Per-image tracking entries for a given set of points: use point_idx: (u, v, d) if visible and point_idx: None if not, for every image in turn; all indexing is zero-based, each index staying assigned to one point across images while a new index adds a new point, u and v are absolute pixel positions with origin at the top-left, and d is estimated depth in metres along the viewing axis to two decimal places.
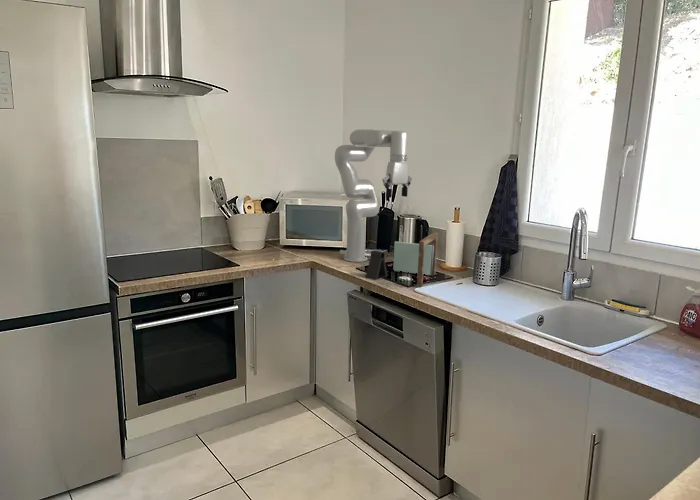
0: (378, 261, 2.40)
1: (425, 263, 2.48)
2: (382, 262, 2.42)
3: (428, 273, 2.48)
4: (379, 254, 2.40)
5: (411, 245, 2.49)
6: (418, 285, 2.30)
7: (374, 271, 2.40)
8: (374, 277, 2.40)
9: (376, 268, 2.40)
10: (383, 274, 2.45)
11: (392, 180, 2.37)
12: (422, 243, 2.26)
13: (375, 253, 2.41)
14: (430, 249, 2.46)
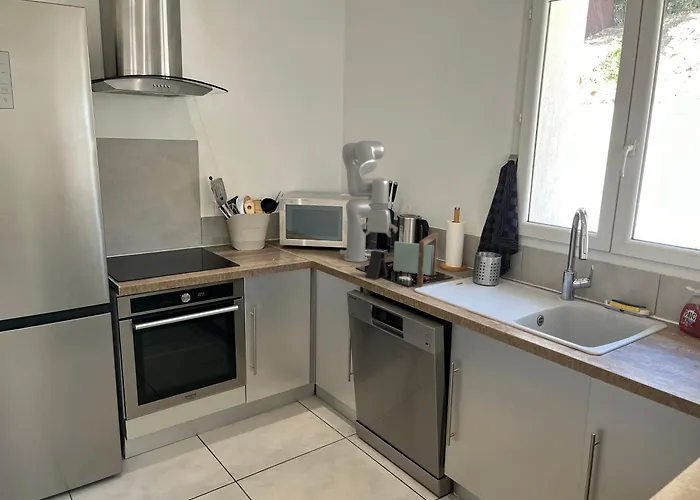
0: (378, 261, 2.40)
1: (425, 263, 2.48)
2: (382, 262, 2.42)
3: (428, 273, 2.48)
4: (379, 254, 2.40)
5: (411, 245, 2.49)
6: (418, 285, 2.30)
7: (374, 271, 2.40)
8: (374, 277, 2.40)
9: (376, 268, 2.40)
10: (383, 274, 2.45)
11: None
12: (422, 243, 2.26)
13: (375, 253, 2.41)
14: (430, 249, 2.46)
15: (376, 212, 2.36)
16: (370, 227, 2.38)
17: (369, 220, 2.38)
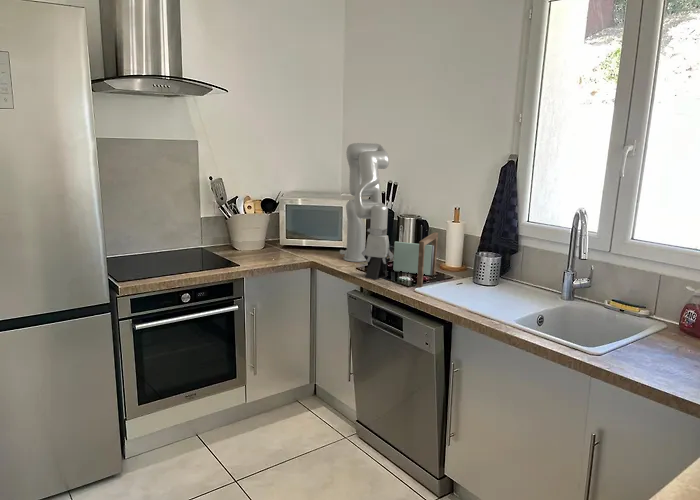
0: (378, 261, 2.40)
1: (425, 263, 2.48)
2: (382, 262, 2.42)
3: (428, 273, 2.48)
4: None
5: (411, 245, 2.49)
6: (418, 285, 2.30)
7: (374, 271, 2.40)
8: (374, 277, 2.40)
9: (376, 268, 2.40)
10: (383, 274, 2.45)
11: None
12: (422, 243, 2.26)
13: None
14: (430, 249, 2.46)
15: (375, 238, 2.38)
16: (369, 252, 2.41)
17: (368, 245, 2.40)
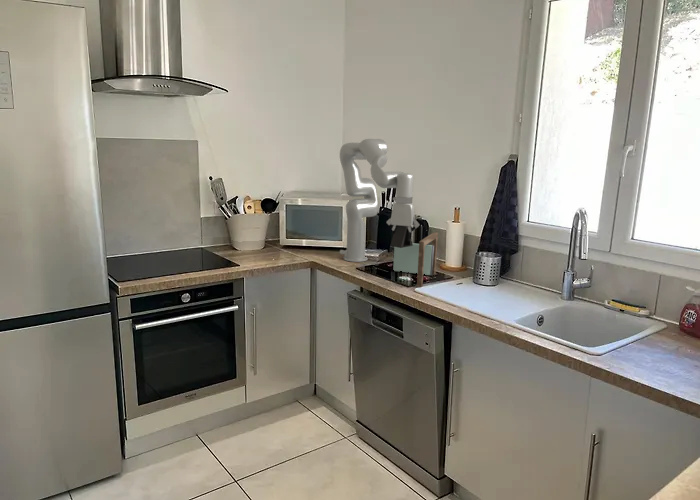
0: (403, 229, 2.41)
1: (425, 263, 2.48)
2: (407, 231, 2.43)
3: (428, 273, 2.48)
4: None
5: None
6: (418, 285, 2.30)
7: (399, 239, 2.41)
8: (399, 245, 2.40)
9: (401, 236, 2.41)
10: (408, 243, 2.45)
11: None
12: (422, 243, 2.26)
13: None
14: (430, 249, 2.46)
15: (400, 206, 2.39)
16: (394, 220, 2.41)
17: (393, 214, 2.41)
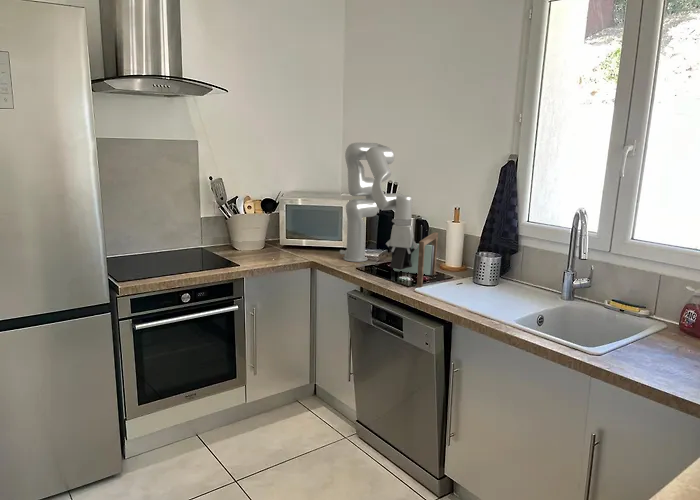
0: (403, 251, 2.43)
1: (425, 263, 2.48)
2: (406, 252, 2.45)
3: (428, 273, 2.48)
4: None
5: None
6: (418, 285, 2.30)
7: (399, 261, 2.43)
8: (399, 267, 2.42)
9: (401, 258, 2.42)
10: (407, 264, 2.47)
11: None
12: (422, 243, 2.26)
13: None
14: (430, 249, 2.46)
15: (400, 228, 2.41)
16: (393, 242, 2.43)
17: (392, 235, 2.43)
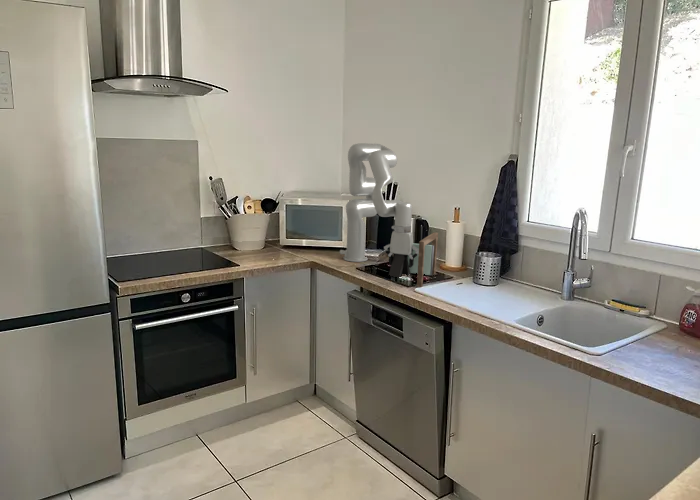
0: (401, 260, 2.44)
1: (425, 263, 2.48)
2: (405, 261, 2.46)
3: (428, 273, 2.48)
4: None
5: None
6: (418, 285, 2.30)
7: (397, 270, 2.44)
8: (397, 276, 2.43)
9: (399, 267, 2.44)
10: (406, 273, 2.48)
11: None
12: (422, 243, 2.26)
13: None
14: (430, 249, 2.46)
15: (399, 235, 2.42)
16: (393, 249, 2.44)
17: (392, 242, 2.44)
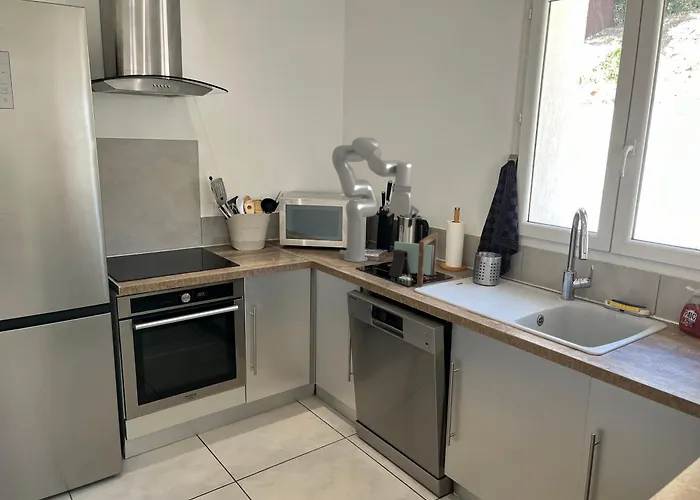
0: (401, 260, 2.44)
1: (425, 263, 2.48)
2: (405, 261, 2.46)
3: (428, 273, 2.48)
4: (402, 253, 2.43)
5: (411, 245, 2.49)
6: (418, 285, 2.30)
7: (397, 270, 2.44)
8: (397, 276, 2.43)
9: (399, 267, 2.44)
10: (406, 273, 2.48)
11: None
12: (422, 243, 2.26)
13: (398, 252, 2.45)
14: (430, 249, 2.46)
15: (399, 194, 2.44)
16: (392, 209, 2.46)
17: (392, 202, 2.46)
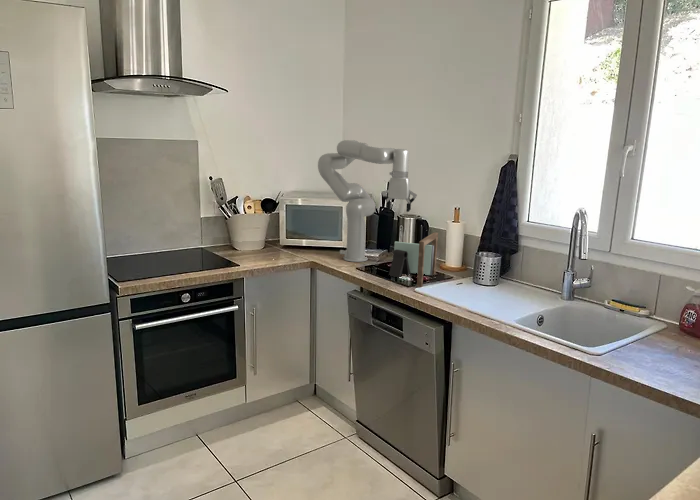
0: (401, 260, 2.44)
1: (425, 263, 2.48)
2: (405, 261, 2.46)
3: (428, 273, 2.48)
4: (402, 253, 2.43)
5: (411, 245, 2.49)
6: (418, 285, 2.30)
7: (397, 270, 2.44)
8: (397, 276, 2.43)
9: (399, 267, 2.44)
10: (406, 273, 2.48)
11: None
12: (422, 243, 2.26)
13: (398, 252, 2.45)
14: (430, 249, 2.46)
15: (397, 180, 2.52)
16: (391, 194, 2.55)
17: (390, 187, 2.54)
